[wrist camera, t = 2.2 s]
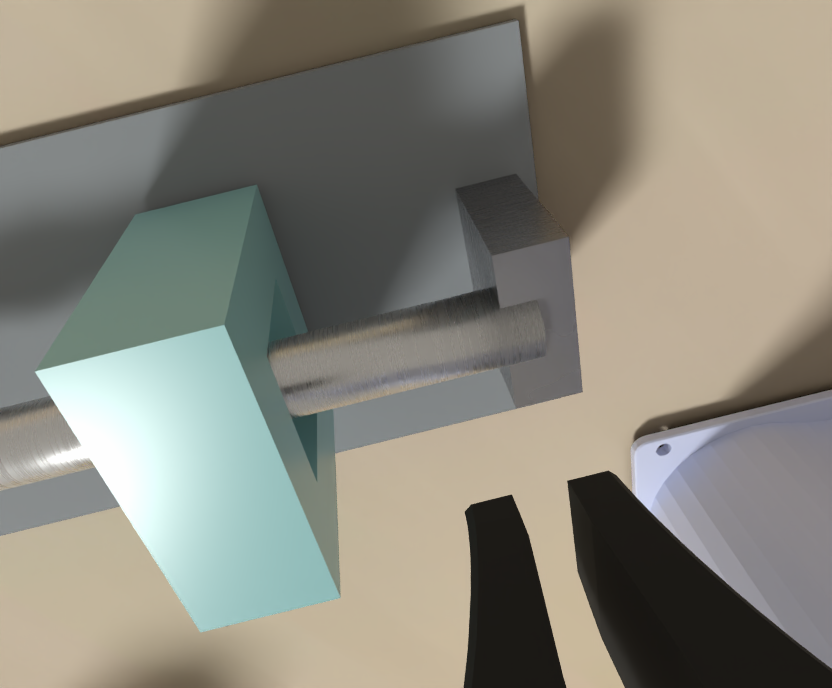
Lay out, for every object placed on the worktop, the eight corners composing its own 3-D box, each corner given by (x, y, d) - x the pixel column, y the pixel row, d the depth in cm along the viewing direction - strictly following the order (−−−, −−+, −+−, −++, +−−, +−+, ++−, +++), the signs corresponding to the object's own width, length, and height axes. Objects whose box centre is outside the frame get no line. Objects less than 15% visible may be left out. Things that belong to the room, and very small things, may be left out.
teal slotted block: (257, 184, 16) (224, 325, 10) (333, 403, 20) (340, 597, 14) (135, 214, 16) (34, 371, 10) (234, 427, 20) (200, 632, 14)
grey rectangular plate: (515, 18, 15) (518, 20, 15) (557, 392, 21) (560, 397, 21) (-353, 233, 15) (-364, 237, 15) (-70, 546, 21) (-75, 554, 21)
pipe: (513, 169, 17) (577, 247, 13) (530, 302, 19) (590, 406, 15) (-223, 351, 17) (-399, 488, 13) (-125, 463, 19) (-249, 612, 15)
